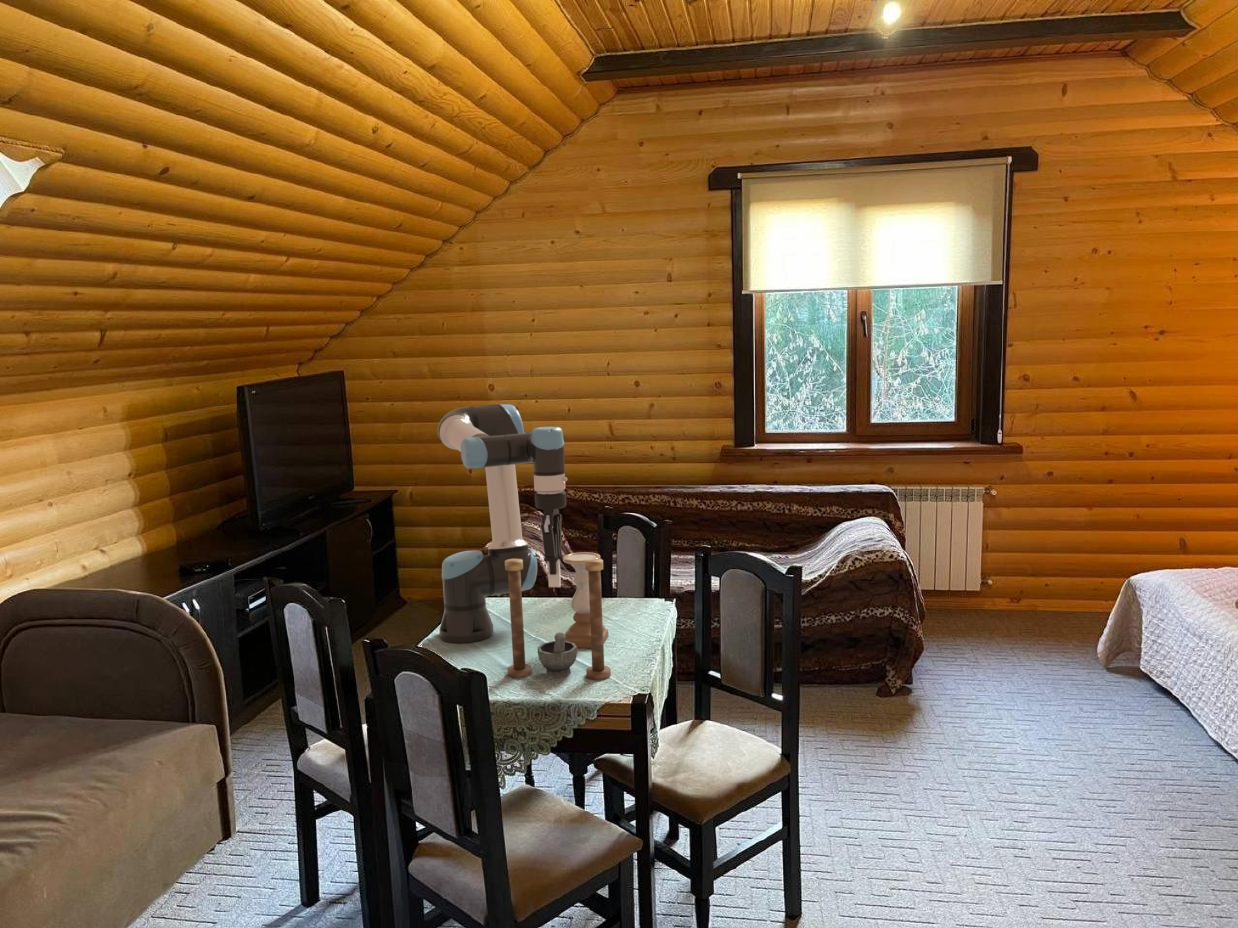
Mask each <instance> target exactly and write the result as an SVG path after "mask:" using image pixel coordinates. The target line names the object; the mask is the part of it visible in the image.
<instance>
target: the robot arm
mask: <svg viewBox="0 0 1238 928" xmlns="http://www.w3.org/2000/svg"><path fill="white" fill-rule="evenodd" d="M437 435H438V438H439V440H440V441H441V443H442V444H443V445H444V446H445V447H447V448H449V449H451V450H456V451H459V452H460V458H461V461H462V465H463V466H464V467H465V468H466V469H481V468H484V469H485V477H486V478H485V479H486V480H485V481H486V489H487V498H488V509H489V520H490V529H491V530H490V531H491V539H492V540H491V543H490V544H489V546H488V547H487V553H488V554H484V553H483V551H481V550H476V549H474V550H465V551H463V550H462V551H460V552H456V553H453V554H451V555H449V556H447V557H445V558H444V560H443V561H442V562H441V563H442V564H441V579H442V580H441V581H442V591H443V592H442V593H443V607H444V608H443V609H444V611H443V615H442V618H441V622H440V625H439V638H440V640H442V641H444V642H447V643H451V644H452V643H454V644H465V643H466V644H467V643H474V642H479V641H483V640H485V639H488V638H490V637H491V636H493V634H494V633H495V632H494V623H493V620H492V619H491V616H490V613H489V611H488V609H487V602H486V601H487V599H486V598H487V597H490V596H496V595H497V596H498V595H504V594H505V595H506V594H509V578H508V571H507V570H505V561H506V560H508V559H522V560H523V569H522V570H520V572H521V591H522V592H525V591H528V590H530V589H532V588H533V587H534V586H535V582H536V580H537V575H538V560H537V555H536V551H535V550H534V549H532V548H529V547H530V546H529V543H528V542H527V541H526V540H525V539H524V538H523V533H522V531H523V530H522V520H521V511H520V503H519V502H520V499H519V492H518V482H517V481H518V480H517V472H516V465H522V464H532V465H533V486H534V487H533V489H534V491H535V493H534V504H535V508H536V509H538V510H543V515H542V517H541V523H542V524H541V525H540V529H541V533H542V541H543V542H542V543H543V550H544V559H543V561H544V562H547V575H548V577H547V578H548V588H561V586H562V579H561V578H562V577H561V560H563V557H564V556H563V555H562V553H563V552H562V522H563V515H562V514H561V513H560V510H559V509H563V508H565V507H567V492H566V491H565V489H566V482H567V481H568V477H566V473H565V472H566V469H565V440H564V433H563V429H562V428H561V427H560V426H559V427H558V426H540V427H535V428H533V429H532V431H529V430H528V431H526V432H525V429H524V423H523V420H522V416H521V414H520V412H519V411H518V409H517V408H516V407H515V406H514V405H513V404H507V403H506V404H504V403H503V404H500V403H498V404H487V405H475V406H462V407H458V408H455V409H452V410H451V411H448V412H447V413H446V414H445V415H444V416H443V417H442V418H441V419H440V421H439V423H438V426H437Z"/></svg>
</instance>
